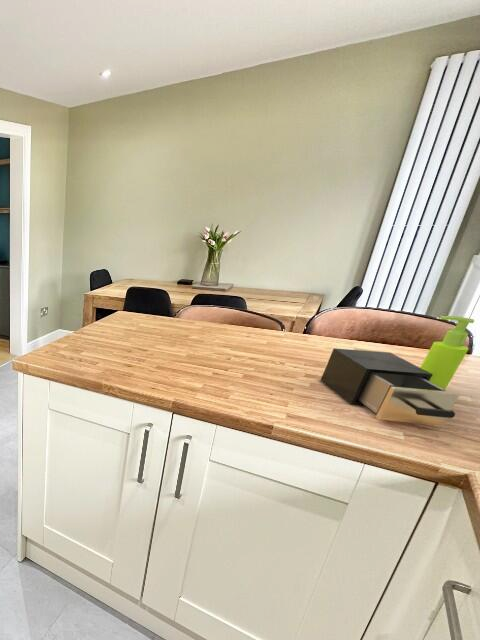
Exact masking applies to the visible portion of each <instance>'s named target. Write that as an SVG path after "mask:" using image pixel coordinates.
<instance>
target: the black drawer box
mask: <svg viewBox="0 0 480 640" xmlns="http://www.w3.org/2000/svg"><path fill="white" fill-rule="evenodd" d="M420 367H421V366H417V365H416V364H414V363H412V362H409V361H408V360H405V359H404V358H402V357H400V356H398V355H396V354H394V353H392V352H387V351H376V350H375V351H373V350H363V349H362V350H360V349H347V348H336V347H335V348H333V349H332V351H331V354H330V356H329V358H328V361H327V363H326V365H325V369H324V371H323V373H322V376H321V378H320V382H321V383H323V384H324V385H325V386H327V387H328V388H329V389H330V390H332V391H333V392H334V393H336V394H337V395H338V396H339V397H340V398H342V400H345V401H346V402H347V403H348V404H350V405H353V406H362V407H363V406H364V407H367V406H366V405H364V404H363V403H362V402H360V401H359V400H358V399H357V398H358V396H359V394H360V392H361V389H362V387H363V385H364V383H365V381H366V379H367V377H368V375H369V372H374V373H386V374H397V375H409V376H421V377H423V378H424V379H426V380H428V381H429V380H430V379H431V377H432V375H433V374H431V373H429V372H427V371H425V370H423V369H422V368H420Z"/></svg>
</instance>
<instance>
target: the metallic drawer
mask: <svg viewBox="0 0 480 640" xmlns="http://www.w3.org/2000/svg"><path fill="white" fill-rule="evenodd" d="M459 397H460V393H458V392H456V391H447V389H443V388H441V387H439V386H437V385H436V384H434V383H432V382H430V381H428V380H426V379H424V378H423V377H421V376H409V375H397V374H386V373H374V372H369V375H368V377H367V379H366V381H365V383H364V385H363V387H362V389H361V392H360V394H359V396H358V398H357V399H358V400H359V401H360V402H362V403H363V404H364V405H366V406H365V407H367V408H368V409H369V410H371V411H372V412H373V413H375V414H376V415H375V418H377V419H378V420H382V421H391V422H392V421H393V422H399V423H408V424H409V423H410V424H418V425H428V426H436V427H441V426H442V425H443V424H444V422H445V420H446V419H453V418H454V417H455V416H456V412H455V411H454V410H452V409H453V408H454V406H455V404H456V402H457V400H458V399H459Z"/></svg>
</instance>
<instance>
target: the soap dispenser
mask: <svg viewBox="0 0 480 640" xmlns="http://www.w3.org/2000/svg"><path fill="white" fill-rule="evenodd" d="M440 319H441V320H442V321H443V320H445V321H447V320H448V321H449V320H450V321H457V323H456V325H455V327H454V328H452V329H448V330H447V331H446V333H445V335H444V337H443V339H442V341H433V343H432V345H431V346H430V349H428V352H427V354H426V355H425V356H426V357H425V358H424V360H423V362H422V364H421V365H420V366H419V367H420V368H422V369H423V370H425V371H427V372H429V373H431V374H433V375H432V377H431V379H430V380H429V381H430V382H432V383H434V384H436V385H437V386H439V387H441V388H443V389H445V390H447V387H448V386H449V384H450V383H451V381H452V379H453V377H454V375H455V374H456V372H457V370H458V368H459V367H460V365H461V363H462V362H463V359H464V358H465V356H466V354H467V353H468V351H469V349H470V348H469V347H468V346H466V345H464V343H465V341H466V339H467V338H468V336H469V332H467V330H466V329H467V327H468V325H469V324H474V322H475V320H474V319H473V318H470V317H469V318H468V317H464V316H456V315H441V316H440Z"/></svg>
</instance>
